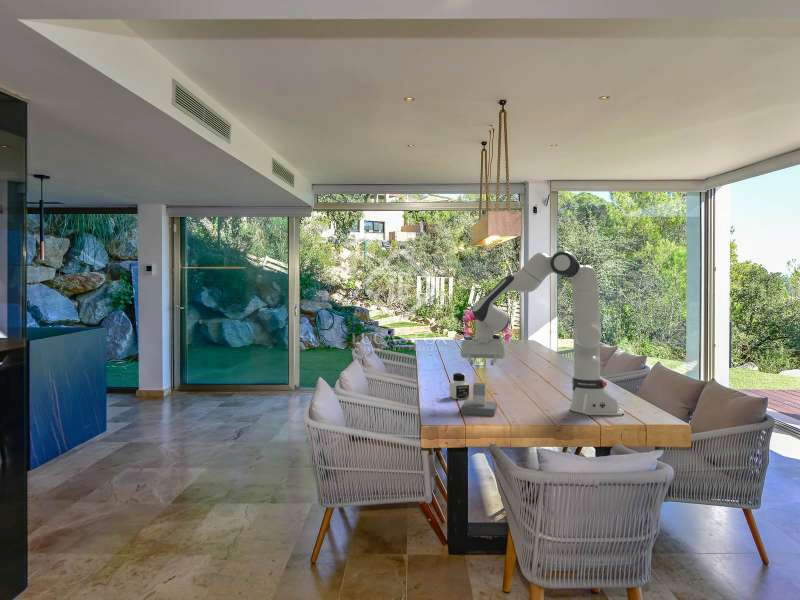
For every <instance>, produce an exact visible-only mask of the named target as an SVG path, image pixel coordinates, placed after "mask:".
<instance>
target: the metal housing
mask: <svg viewBox="0 0 800 600" xmlns="http://www.w3.org/2000/svg"><path fill="white" fill-rule="evenodd" d="M472 386H473V387H472V392H473V393H472V394H473V395H472V398H473V399H472V401H473V406H485V405H486V402H487V398H486V397H487V383H486V382H474V383H473V385H472Z"/></svg>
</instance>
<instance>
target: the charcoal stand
mask: <svg viewBox="0 0 800 600" xmlns="http://www.w3.org/2000/svg"><path fill="white" fill-rule="evenodd" d="M497 407H498V403H497V401H486V405H485V406H473V400H467V399H464V402H463V404H462V405H461V407H460V414H461V415H467V414H471V415H470V416H483V415H484V416H485V417H486V416H488V417H495V416H494V415H496V412H497V410H496V409H497ZM484 416H483V417H484Z"/></svg>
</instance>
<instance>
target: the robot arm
mask: <svg viewBox="0 0 800 600" xmlns="http://www.w3.org/2000/svg"><path fill="white" fill-rule="evenodd" d="M553 273H554V274H557V275H558V276H560V277H565V278H566V277H567V278H569V279H570V281H571V291H572V292H571V295H572V311H573V313H572V314H573V377H572V379H571V380H572V381H571V384H572V385H571V386H572V387H571V389H572V396H571V402H570V405H569V410H570V411H572V412H575V413H579V414H583V415H587V416H623V415H622V414H624V415H625V410H624V409H623V408H622V407H620V406H619V405H620V404H619V401H618V398H617V397H616V395H614V394H613V393H612V392H611V391H609V390H608V389H607V388H606V387H607V385H608V382H607V381H605V380H603V379H601V350H600V348H601V346H600V343H601V341H602V337H603V336H602V322H601V321H602V319H601V310H600V292H599V291H600V290H599V280H598V279H599V278H598V275H597V271H596V269H595V267H593V266H591V265H588V264H585V265H583V264H580V263H579V261H578V258H577V257H576V255H575V254H574V253H572V252H570V251H567V250H559V251H557V252H555V253H554V254H553V255H552V256H550V255H549V254H547V253H544V252H537V253H535V254H534V255H533V256H531V258H529V259H528V261H527V262H526V263H525V264H524V265H523V266H522V267H521V268H520V270H519V271H517V272H516V273H513V274H508V275H507V276H505V277H504V278H503V279H501V281H499V282H498V283H497V284H496V285H495V286H494V287H492V289H491V290H490V291H489V292H487V293H486V294H485V295H484V296H483V297H482V298H480V299H478V300H477V301H476V302H475V303H474V305H473V306H472V309H471V310H472V315H473V318H474V319H475V320H476V323H475V334H474V339H464V340H462V341H461V344H460V346H461V347H460V348H461V349H460V356H461V357H462V358H465V359H466V358H467V359H468V361H469V365H470V366H471V365H472V366H473V365H474V359H491V360H490V366H495V363H496V362H497V360H499V359H500V360H503V359H504V358H506V350H505V349H506V348H505V344H504V340H503V337H502V336H501V335H498V333H500V332H504V331H505V330H506V329H507V328H508V327H509V325H510V317H511V316H510V315H509V313H507V311H505V310H503V309H501V308H499V307H498V306H496V305H495V304H494V303H495V302H496V301H497V300H498V299H500V298H501V297H502V296H503V295H504V294H505V293H507V292H521V293H532V292H535V291H536V290H537V289H538V288H539V287H540V286H541V284H542V283H543V281H545V279H546V278H547V277H548V276H549V275H550V274H553Z"/></svg>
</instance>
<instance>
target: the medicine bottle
mask: <svg viewBox="0 0 800 600" xmlns="http://www.w3.org/2000/svg"><path fill="white" fill-rule="evenodd" d="M466 376H467V374H465V373H463V372H455V373H453V375H452V382H449V397H450V398H451V397H452V398H451V399H454V400H456V399H459V400H467V399H468V398H469V399H470V384H469V383H466V380H467V379H466Z"/></svg>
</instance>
